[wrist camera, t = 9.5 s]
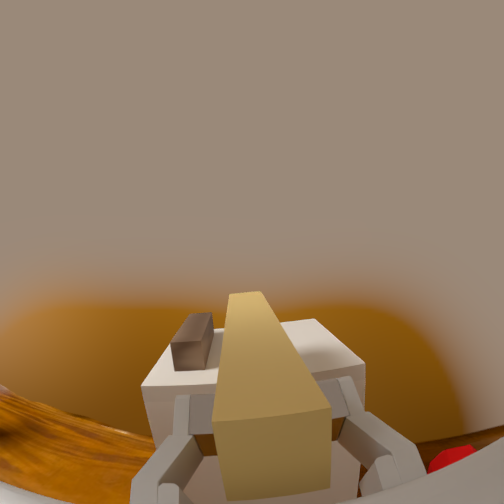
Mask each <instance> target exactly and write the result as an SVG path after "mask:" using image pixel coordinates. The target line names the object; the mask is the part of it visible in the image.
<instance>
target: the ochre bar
mask: <svg viewBox="0 0 504 504" xmlns="http://www.w3.org/2000/svg"><path fill="white" fill-rule="evenodd" d="M211 422H212V428H213V434H214V439H215V444H216V450H217V455H218V460H219V465H220V470H221V475H222V480H223V485H224V490H225V494H226V499H227V501H243V500H255V499H265V498H274V497H282V496H289V495H296V494H302V493H308V492H313V491H318V490H323V489H328V488H330V479H331V444H332V407H331V405H330V404H329V402H328V400H327V399H326V397H325V396H324V394H323V392H322V391H321V389H320V387H319V386H318V384H317V383H316V381H315V379H314V378H313V376H312V375H311V373H310V371H309V370H308V368H307V366H306V365H305V363H304V362H303V360H302V358H301V357H300V355H299V353H298V352H297V350H296V348H295V347H294V345H293V344H292V342H291V340H290V339H289V337H288V335H287V334H286V332H285V330H284V329H283V327H282V326H281V324H280V322H279V321H278V319H277V317H276V316H275V314H274V312H273V311H272V309H271V307H270V306H269V304H268V303H267V301H266V299H265V298H264V296H263V294H262V293H261V291H257V292H248V293H236V294H230V295H229V302H228V308H227V315H226V322H225V328H224V335H223V342H222V349H221V356H220V363H219V370H218V377H217V385H216V392H215V399H214V406H213V414H212V421H211Z"/></svg>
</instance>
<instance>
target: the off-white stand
mask: <svg viewBox="0 0 504 504" xmlns="http://www.w3.org/2000/svg"><path fill="white" fill-rule="evenodd" d="M280 324H281V326H282V327H283V329H284V330H285V332H286V334H287V335H288V337H289V339H290V340H291V342H292V344H293V345H294V347H295V348H296V350H297V352H298V353H299V355H300V357H301V358H302V360H303V362H304V363H305V365H306V366H307V368H308V370H309V371H310V373H311V375H312V376H313V378H314V379H315V381H316V382H317V381H323V380H328V379H333V378H340V377H345V376H351V377H352V379H353V382H354V384H355V387H356V390H357V392H358V395H359V397H360V400H361V403H362V406H363V408H364V404H365V403H364V402H365V362H363V361H362V360H361V359H360V358H359V357H358V356H356V355H355V354H354V353H353V352H352V351H351V350H350V349H348V348H347V347H346V346H345V345H344V344H343V343H342V342H341V341H339V340H338V339H337V338H336V337H335V336H333V335H332V334H331V333H330V332H329V331H328V330H327V329H326V328H325V327H323V326H322V325H321V324H320V323H319V322H318V321H317V320H315V319H307V320H299V321H291V322H283V323H280ZM223 335H224V329H214V336H213V340H212V344H211V348H210V352H209V356H208V360H207V364H206V368H205V370H197V371H177V372H175V371H174V365H173V359H172V353H171V347H170V344H169V346H168V347H167V349H166V350H165V352H164V353H163V354H162V356H161V357H160V359H159V360H158V362H157V363H156V365H155V366H154V367H153V369H152V370H151V372H150V373H149V375H148V376H147V378H146V379H145V381H144V382H143V383H142V385H141V389H142V394H143V399H144V403H145V407H146V411H147V415H148V420H149V423H150V427H151V431H152V435H153V439H154V442H155V446H156V450H157V449H158V448H159V447H160V445H161V444H162V443H163V442H164V441H165V439H166V438H167V437H168V436H169V435H173V421H174V407H175V398H176V395H199V394H215V392H216V385H217V377H218V370H219V363H220V356H221V349H222V342H223ZM337 441H338V440H337ZM337 441H332V444H331V479H330V488H328V489H323V490H318V491H313V492H308V493H302V494H296V495H289V496H282V497H274V498H265V499H255V500H243V501H227V499H226V494H225V490H224V485H223V480H222V475H221V470H220V465H219V460H218V456H203V457H204V458H203V460H202V462H201V463H200V465H199V466H198V468H197V470H196V471H195V473H194V474H193V476H192V478H191V479H190V481H189V482H188V484H187V485H186V487H185V489H184V490H183V492H184V493H185V494H186V496H187V497H188V498H189V499H190V500H191V501H192V502H193V503H194V504H334V503H339V502H343V501H347V500H351V499H355V498H357V491H358V483H359V473H360V462H359V461H358V460H357V459H356V458H354V457H353V456H352V455H351V454H350V453H349V452H348V451H347V450H346V449H345V448H344V447H343V446H342V445H341V444H340V443H338V442H337Z"/></svg>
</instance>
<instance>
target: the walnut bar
mask: <svg viewBox="0 0 504 504" xmlns="http://www.w3.org/2000/svg"><path fill="white" fill-rule="evenodd" d="M213 336H214V328H213V319H212V313H211V312H210V313H197V314H190V315H189V316H188V318H187V319H186V320H185V322H184V323H183V325H182V326H181V327H180V329H179V330H178V332H177V333H176V335H175V336H174V337H173V339H172V341H171V342H170V347H171V353H172V359H173V365H174V371H175V372H177V371H197V370H205V368H206V364H207V360H208V356H209V352H210V348H211V344H212V340H213Z"/></svg>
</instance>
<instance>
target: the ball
mask: <svg viewBox="0 0 504 504" xmlns="http://www.w3.org/2000/svg"><path fill="white" fill-rule="evenodd" d="M475 452H477V450H476V449H475V448H473V447H472V446H471V445H466V446H461V447H456V448H451V449H446V450H444V451H442V452H440V453H439V454H438V455H437V456H436V457H435V458H434V459H433V460H432V461H431V462H430V464H429V468H428V472H427V474H430V473H432V472H434V471H437V470H439V469H441V468H444V467H446V466H448V465H450V464H453V463H455V462H457V461H459V460H461V459H463V458H465V457H467V456H469V455H471V454H473V453H475Z"/></svg>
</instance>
